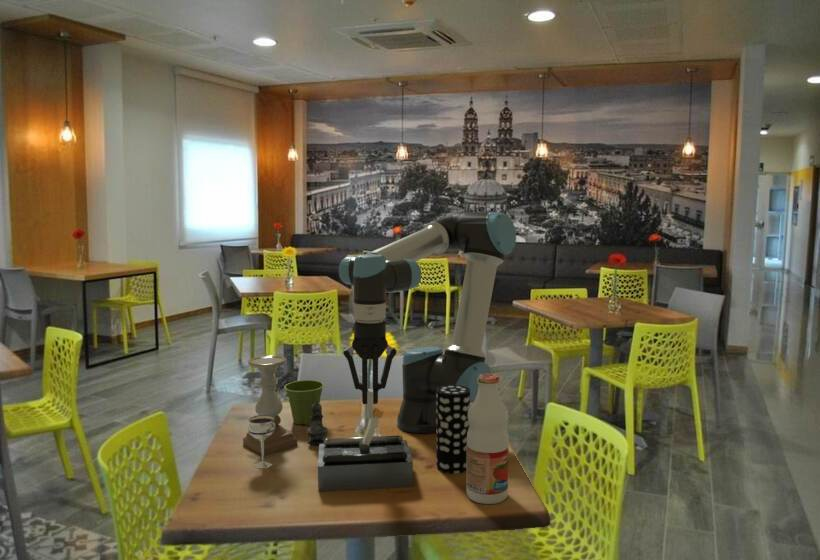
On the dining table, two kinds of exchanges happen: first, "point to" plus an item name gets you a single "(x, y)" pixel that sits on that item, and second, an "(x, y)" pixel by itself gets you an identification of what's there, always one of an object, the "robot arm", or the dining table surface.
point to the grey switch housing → (364, 464)
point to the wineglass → (262, 434)
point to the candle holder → (269, 407)
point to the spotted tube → (452, 428)
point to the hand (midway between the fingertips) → (370, 416)
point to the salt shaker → (316, 426)
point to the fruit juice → (487, 444)
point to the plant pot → (303, 399)
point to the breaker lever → (370, 429)
